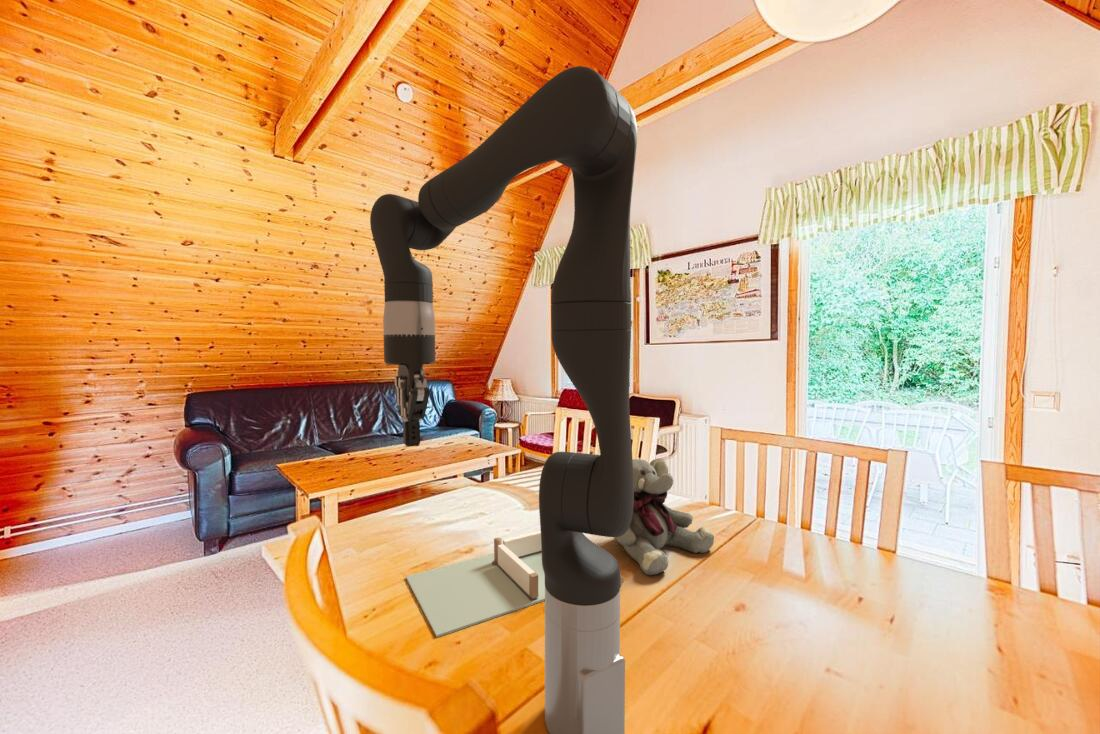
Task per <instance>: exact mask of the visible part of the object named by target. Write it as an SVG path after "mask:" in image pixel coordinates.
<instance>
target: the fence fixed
mask: <svg viewBox="0 0 1100 734" xmlns="http://www.w3.org/2000/svg"><path fill="white" fill-rule="evenodd" d="M501 544H504V545H505V546H506V547H507V548H508V549H509V550H510V551H511V552H513V553H514V554H515V555H516V556H517V557H520V556H524V555H527V554H531V553H534V552H538V551H542V548H541V530H537V531H534V532H528V533H525V534H522V535H517V536H514V537H509V538H506V539H502V537H495V538H493V553H494V563H495V564H498V545H501Z"/></svg>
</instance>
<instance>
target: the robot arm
mask: <svg viewBox="0 0 1100 734" xmlns="http://www.w3.org/2000/svg"><path fill="white" fill-rule="evenodd" d="M637 145H638V123H637V119H636V114H635V113H634V110H633V108H632V106H631V105H630V103H629V101H628V100H627V99H626V98H625V97H624V96H623V95H622V94H621V93H620V92H619V91H618V90H617V89H616V88H615V87H614V86H613V85H612V84H611V83H610V82H609V81H608V80H607V79H606V78H605V77H604V76H603V75H601V74H600V73H599V72H597V71H596V70H594V69H592V68H590V67H588V66H582V65H577V66H573V67H568V68H566V69H563V70H562V71H561V72H559V73H557V74H556V75H555V76H553V77H552V78H551V79H549V80H548V81H546V83H544V84H543V85H542V86H541V87H540V88H538V89H537V90H536V91H535V92H534V93H533V94H532V95H531V96H530V97H529V98H528V99H527V100H526V101H525V102H524V103H522V105H521V106H519V108H517V109H516V111H515V112H514V113H512V114H511V115H510V116H509V117H508V118H507V119H506V120H505V121H504V122H503V123H501V125H500V126H499V127H498V128H497V129H496V130H495V131H493V132H492V133H491V134H490V135H489V136H488V137H487V138H486V139H485V140H484V141H483V142H482V143H481V144H480V145H478V146H477V147H476V148H475V149H474V150H472V151H471V152H469V154H468V155H466V156H465V157H463V158H462V159H460V160H459V161H458V162H456V163H454V164H453V165H451V166H449V167H448V168H446V169H444V170H443V171H441V172H439V173H438V174H436V175H435V176H433V177H431V178H430V179H428V180H427V181H426V182H425V183H424V184H423V185H422V186H421V187H420V190H419V191H418V198H417V201H416V200H414V199H410V198H406V197H403V196H401V195H397V194H394V193H386V194H383V195H381V196H379V197H378V198H377V199H376V200H375V202H374V203H373V205H372V208H371V211H370V217H369V223H370V230H371V231H370V232H371V234H372V235H371V236H372V238H373V243H374V245H375V249H376V252H377V256H378V259H379V264H380V265H381V269H382V273H383V278H384V279H383V280H384V281H383V283H384V285H383V288H384V289H383V290H384V291H383V292H384V308H383V315H382V316H383V319H382V322H383V326H382V328H383V361H384V364H386V365H389V366H390V365H391V366H392V365H393V366H394V365H395V366H397V365H398V367H397V368H398V369H397V375H396V376H394V383H393V389H394V395H395V400H396V405H397V413H398V416H400V420H401V421H402V433H403V434H402V435H403V436H402V437H403V439H402V440H403V445H405V446H406V447H408V448H409V447H417V446H420V444H421V422H422V419H425V416H426V411H427V407H428V404H429V398H430V394H431V390H430V387H428V386H427V380H428V379H427V376H426V375H425V374H424V373H425V372H424V368H423V367H424V365H431V364H434V363H435V362H436V320H435V319H436V318H435V311H434V304H433V303H434V295H433V294H434V293H433V292H434V289H433V287H434V285H433V274H432V273H433V272H432V271H431V269H430V268H429V266H427V265H426V264H423V263H421V262H420V261H418V260H416V259H415V258H414V257H413V255H412V252H411V250H410V249H412V250H416V251H428V250H433V249H435V248H437V247H439V246H440V245H442V243H443V242H444V241H445V240H446V239H448V237H449V236H450V235H451V234H452V233H453V232H454V231H455V229H456V228H457V227H460V226H461V225H464V224H466V223H468V222H469V221H472V220H474V219H475V218H477V217H479V216H481V215H483V214H484V213H486V212H487V211H489V210H490V209H491V208H493V207H494V206H495V205H496V204H497V202H498V201H499V200H500V198H501V197H502V195H503V194H504V192H505V191H506V189H507V187H508V185H509V184H510V183H511V182H512V181H513V179H515V178H516V177H517V176H518V175H520V174H522V173H523V172H525V171H527V170H529V169H532V168H534V167H537V166H540V165H543V164H547V163H550V162H553V161H556V162H557V163H559V164H561V165H564V166H565V167H567V168H569V169H571V173H572V179H573V180H572V181H573V195H574V197H573V200H574V201H573V202H574V203H573V204H574V210H573V211H574V213H573V214H574V216H573V225H572V230H571V233H570V236H569V239H568V242H567V243H566V247H565V250H564V252H563V254H562V256H561V259H560V261H559V264H558V266H557V269H556V271H555V274H554V278H553V282H552V287H551V294H550V295H551V296H550V297H551V298H550V302H551V303H550V304H551V306H550V308H551V309H550V312H551V313H550V315H551V323H550V324H551V343H552V347H553V351H554V354H555V355H556V358H557V360H558V361H559V363H560V366H561V367H562V369H563V370H564V373H565V374H566V375H567V377H568V379H569V380H570V382H571V383H572V385H573V386H574V388H575V390H576V391H577V393H578V394H579V395H580V398H581V399H582V401H583V403H584V404H585V406H586V408H587V411H588V412H589V415H590V417H591V419H592V422H593V425H594V428H595V431H596V436H597V440H598V447H599V454H593V453H583V452H571V451H556V452H553V453H551V454H550V455H549V456H548V458H547V459H546V460H545V462H544V464H543V467H542V470H541V473H540V474H541V475H540V479H539V486H538V507H539V508H538V509H539V511H538V512H539V523H540V524H539V526H540V531H541V548H542V566H543V570H544V574H545V601H544V721H545V726H546V728H547V731H548V733H549V734H626V733H625V732H626V731H625V730H626V728H625V727H626V726H625V725H626V723H625V722H626V720H625V718H626V716H625V715H626V714H625V712H626V711H625V709H626V708H625V707H626V705H625V704H626V659H625V658H624V656H623V655H621V654H620V653H621V645H620V644H621V587H620V575H621V568H620V565H619V562H618V560H617V559H616V558H615V557H614V555H613V554H612V553H610V552H609V551H608V550H606V549H604V548H603V547H600V545H598V544H596V543H594V542H593V541H592V540H590V538H588V537H587V536H586V535H585V534H587V535H594V536H599V537H608V538H614V537H620V536H622V535H624V534H625V533H626V532H627V530H628V528H629V526H630V523H631V520H632V515H633V506H634V477H633V460H634V459H633V448H632V431H631V430H632V429H631V416H630V415H631V414H630V410H631V409H630V378H631V377H630V376H631V375H630V373H631V372H630V370H631V363H630V362H631V346H632V345H631V342H632V341H631V340H632V293H631V292H632V291H631V207H632V205H631V204H632V195H633V185H634V176H635V175H634V174H635V168H636V167H635V165H636V156H637V149H638V148H637Z"/></svg>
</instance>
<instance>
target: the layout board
mask: <svg viewBox="0 0 1100 734" xmlns="http://www.w3.org/2000/svg"><path fill="white" fill-rule="evenodd" d="M518 558H519V559H521V560H522V561H523V562H524V563H525V564H526V565H527V566H528V567H530V568H531V569H532V570H533V571H534V572H535V573H536V574H537V575H538V597H536V598H533V599H532V598H531V597H530V596H529V595H528V594H527V593H526V592H525V591H524V590H523V589H522V588H521V587H520V586H519V585H518V584H517V583H516V582H515V581H514V580H513V579H512V578H511V577H510V576H509V575H508V574H507V573H506V572H505V571H504V570H503V569H502V568H501V567H500V566H499V565H498V564H495V563H494V552H493V553H489V554H486V555H481V556H478V557H475V558H474V557H473V558H470V559H465V560H462V561H459V562H456V563H452V564H447V565H443V566H439V567H436V568H432V569H429V570H424V571H420V572H416V573H413V574H408V575H405V580H406V581H407V584H408V585H409V587H410V589H411V591H412V592H413V595H414V596H415V598H416V600H417V602H418V605H419V606H420V608H421V610H422V612H423V614H424V616H425V618H426V620H427V622H428V623H429V626H430V627H431V629H432V631H433V633H434V636H435V637H436V638H440V637H442V636H446V635H449V634H451V633H454V632H457V631H460V630H463V629H466V628H469V627H472V626H475V625H478V624H480V623H484V622H486V621H489V620H492V619H495V618H498V617H501V616H503V615H507V614H510V613H513V612H517V611H519V610H521V609H525V608H528V607H530V606H533V605H536V604H538V603H542V602H545V574H544V570H543V566H542V551H538V552H534V553H531V554H527V555H524V556H520V557H518Z"/></svg>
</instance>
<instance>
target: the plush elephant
mask: <svg viewBox="0 0 1100 734" xmlns="http://www.w3.org/2000/svg"><path fill="white" fill-rule="evenodd" d="M632 460H633V477H634V506H633V515H632V520H631V523H630V526H629V528H628V530H627V532H626V533H625V534H624V535H622V536H620V537H613V538H614V540H615V541H617V542H618V543H619V545H620V546H622V547H623V549H624V551H625V552H626V553H627V554H628V555H629V556H630V557H631V558H632V559H634V560H635V562H637V563H638V565H639V567H640V569H641V571H642V572H643V573H644V574H645V575H647V576H653V575H658V574H660V573H661V572H664V571H666V570H667V568H668V566H669V559H668V556H667V555H666V553H665V551H662V550H661V549H662V548H663V547H664V546H666V545H667V546H670V545H671V547H675V548H680V549H682V550H685V551H688V552H690V551H691V553H694V554H705V553H707V552H708V551H709V550H710V549H712V547H713V546H714V543H715V536H714V534H713V532H712V531H711V530H710V529H708V527H706V526H702V527H699V528H698V529H697V530H696V531H692V530H689V529H687V528H689V527H690V525H692V523H693V520H694V519H693V518H694V517H693V515H692V514H691V513H688V512H684V511H679V510H675V509H672V508H670V507H669V506H667V505H665V501H666V499H667V497H668V491H669V490H670V489H671V488H672V487H673V485H674V478H673V475H672V474H671V473H669V466H668V465H667V463H666V462H665V461H666V460H665V459H664V458H661V457H659V458H655V459H652V460H651V461H650V462H649V461H647V460H646V459H641V458H640V459H632ZM698 552H700V553H698ZM704 552H705V553H704Z"/></svg>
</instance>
